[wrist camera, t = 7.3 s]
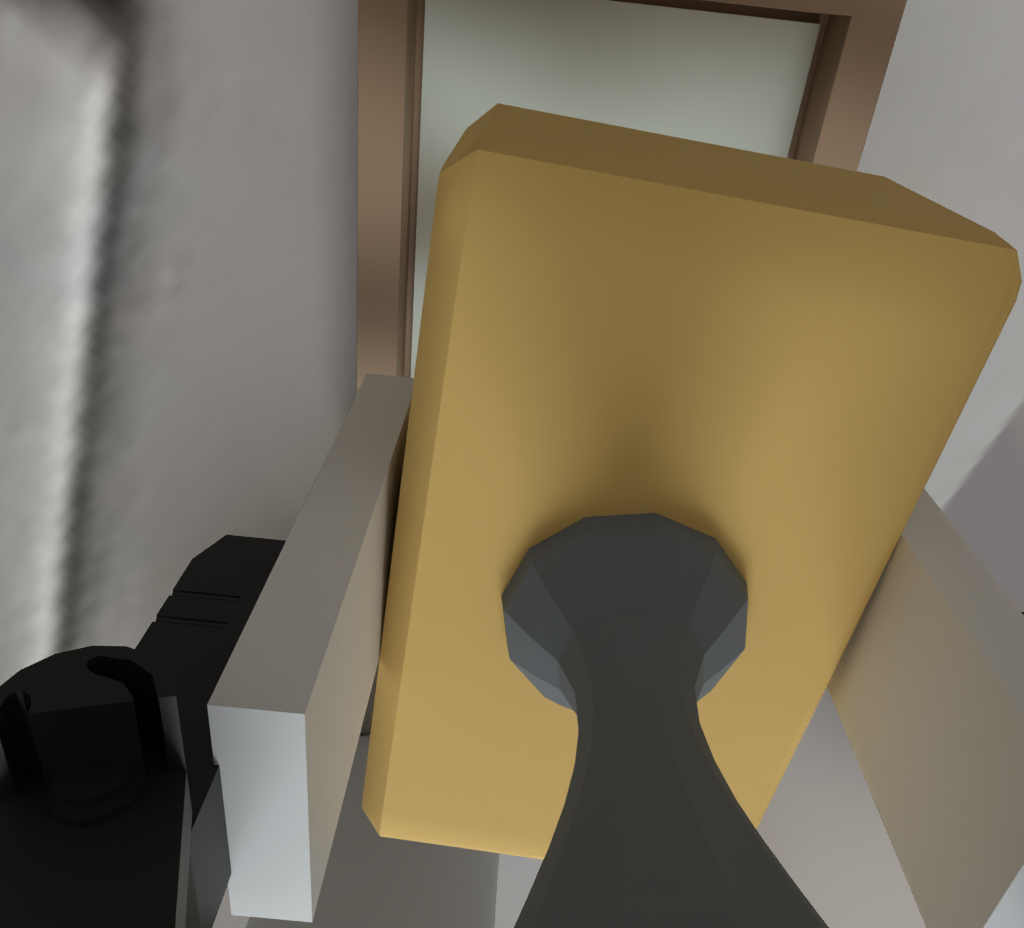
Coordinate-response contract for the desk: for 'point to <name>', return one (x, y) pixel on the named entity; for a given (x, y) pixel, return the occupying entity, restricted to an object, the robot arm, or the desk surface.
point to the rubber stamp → (653, 499)
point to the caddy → (587, 103)
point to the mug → (396, 876)
